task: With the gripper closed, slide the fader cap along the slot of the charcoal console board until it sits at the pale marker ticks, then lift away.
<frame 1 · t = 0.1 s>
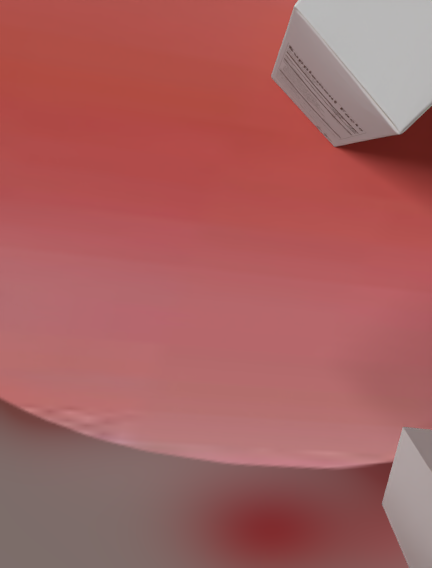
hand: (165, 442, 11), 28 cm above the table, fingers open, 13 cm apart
supplement box: (339, 73, 32), on the table
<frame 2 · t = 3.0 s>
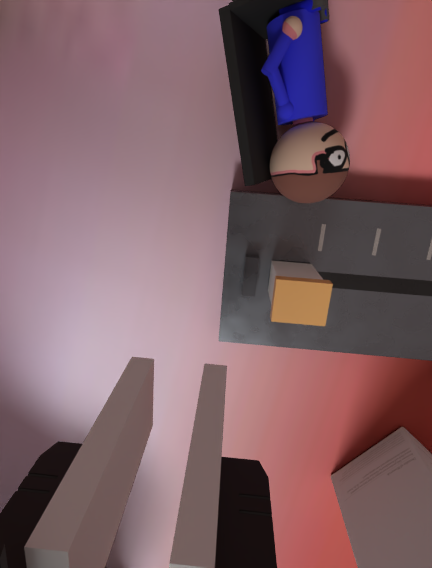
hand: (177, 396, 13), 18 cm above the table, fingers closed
console: (396, 279, 30), on the table
supplement box: (392, 476, 36), on the table
character figurine: (279, 95, 26), on the table
fader: (294, 288, 25), point 5 cm above the table, slide at 0.0 cm
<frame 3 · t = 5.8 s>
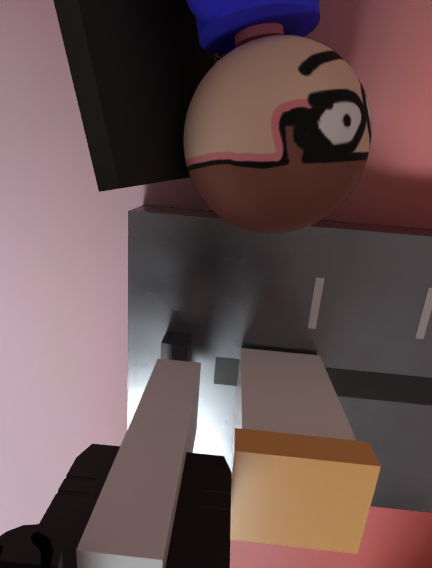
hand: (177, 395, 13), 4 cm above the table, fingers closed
character figurine: (223, 3, 13), on the table
fader: (284, 427, 12), point 5 cm above the table, slide at 0.9 cm, touching gripper
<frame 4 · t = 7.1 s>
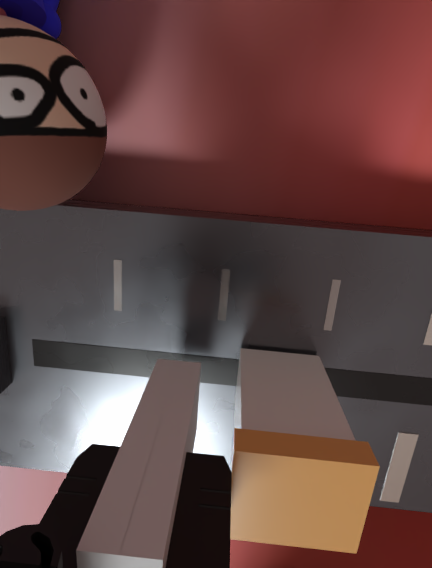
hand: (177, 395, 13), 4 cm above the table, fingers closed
console: (286, 353, 16), on the table
fader: (284, 427, 12), point 5 cm above the table, slide at 8.3 cm, touching gripper
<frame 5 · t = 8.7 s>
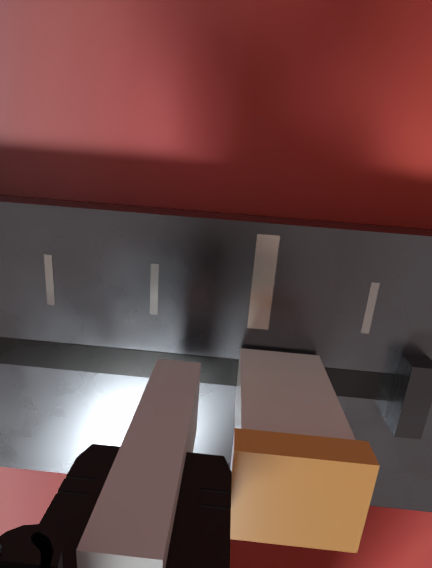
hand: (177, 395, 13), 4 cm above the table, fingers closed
console: (140, 340, 17), on the table
fader: (284, 427, 12), point 5 cm above the table, slide at 14.9 cm, touching gripper
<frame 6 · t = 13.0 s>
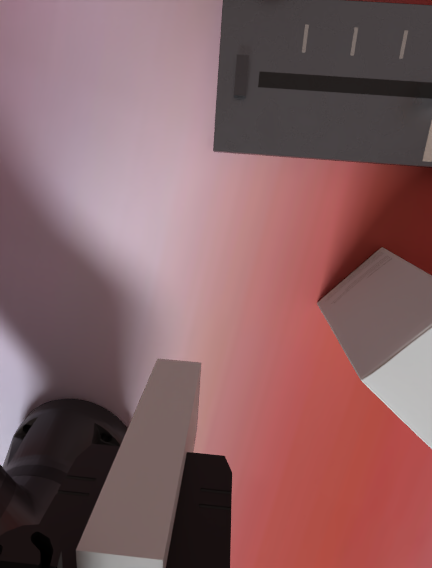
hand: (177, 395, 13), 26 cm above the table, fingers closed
console: (374, 92, 33), on the table
supplement box: (373, 303, 39), on the table
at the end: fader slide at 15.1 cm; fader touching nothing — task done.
